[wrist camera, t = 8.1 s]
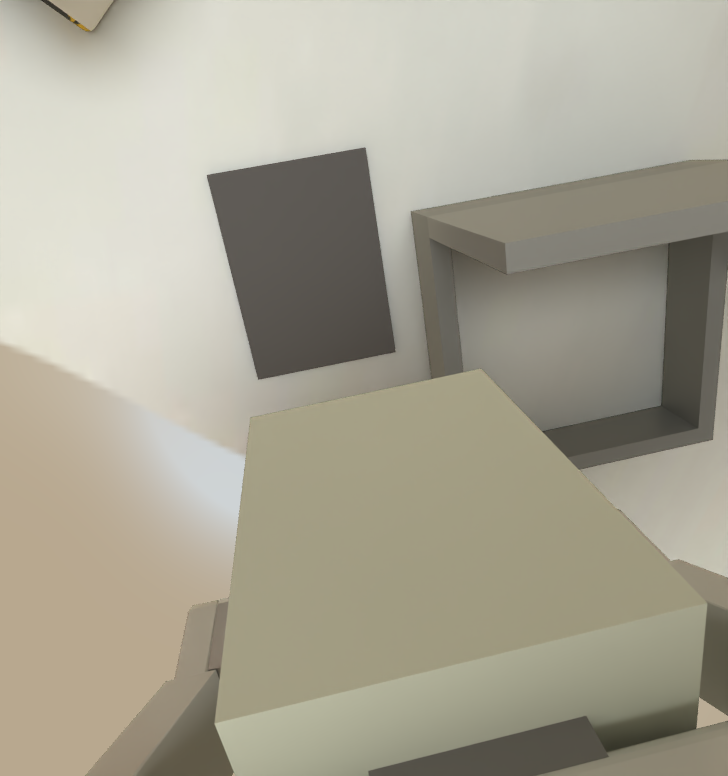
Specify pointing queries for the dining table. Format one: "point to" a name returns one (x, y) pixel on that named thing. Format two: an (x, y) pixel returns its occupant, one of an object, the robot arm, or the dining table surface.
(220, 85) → the dining table surface
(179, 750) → the robot arm
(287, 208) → the mat
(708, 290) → the case
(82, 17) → the medicine bottle
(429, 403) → the block
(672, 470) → the dining table surface
